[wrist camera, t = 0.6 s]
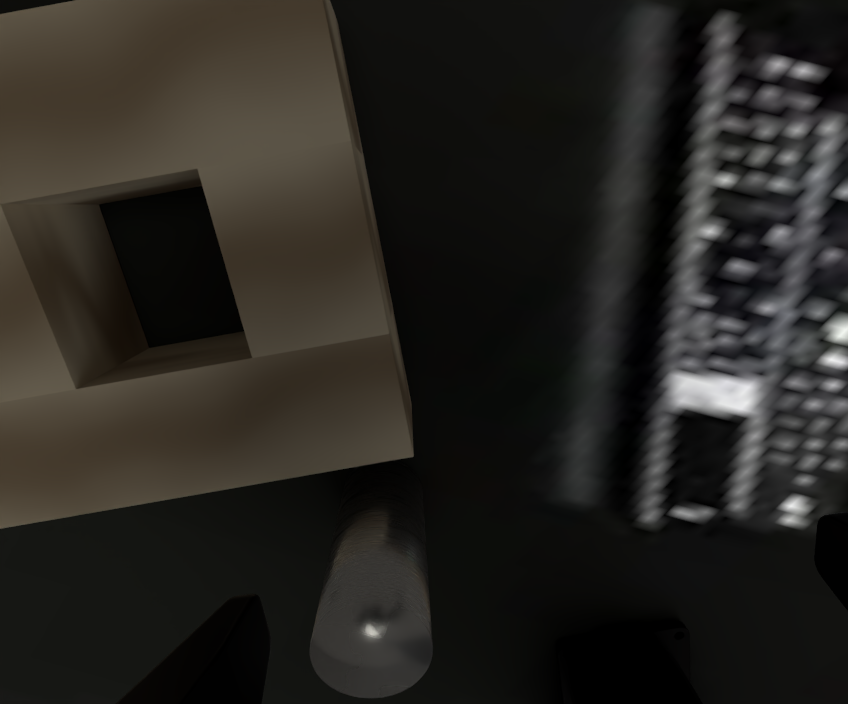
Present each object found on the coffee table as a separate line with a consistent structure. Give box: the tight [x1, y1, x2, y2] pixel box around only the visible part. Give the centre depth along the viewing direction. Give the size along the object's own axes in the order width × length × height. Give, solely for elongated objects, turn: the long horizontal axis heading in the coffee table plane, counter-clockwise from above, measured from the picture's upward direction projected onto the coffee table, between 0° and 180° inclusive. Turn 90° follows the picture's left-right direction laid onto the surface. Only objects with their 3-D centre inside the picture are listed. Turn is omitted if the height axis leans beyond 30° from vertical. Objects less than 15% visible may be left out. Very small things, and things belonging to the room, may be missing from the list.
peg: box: [310, 460, 433, 698], centre depth 18 cm, size 4×4×8 cm
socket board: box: [0, 0, 414, 529], centre depth 16 cm, size 14×14×4 cm
